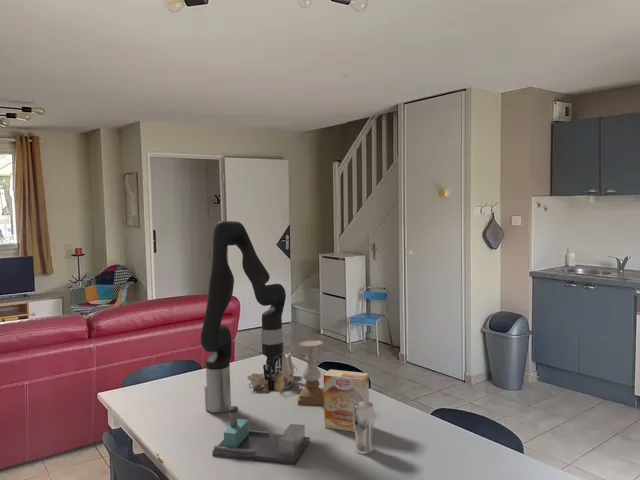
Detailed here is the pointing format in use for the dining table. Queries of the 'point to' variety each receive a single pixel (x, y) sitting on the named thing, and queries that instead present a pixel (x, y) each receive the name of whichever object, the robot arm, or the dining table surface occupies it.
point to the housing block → (275, 382)
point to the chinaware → (287, 369)
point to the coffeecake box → (343, 397)
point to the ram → (235, 429)
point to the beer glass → (363, 426)
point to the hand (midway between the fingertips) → (273, 387)
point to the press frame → (269, 446)
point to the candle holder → (311, 375)
